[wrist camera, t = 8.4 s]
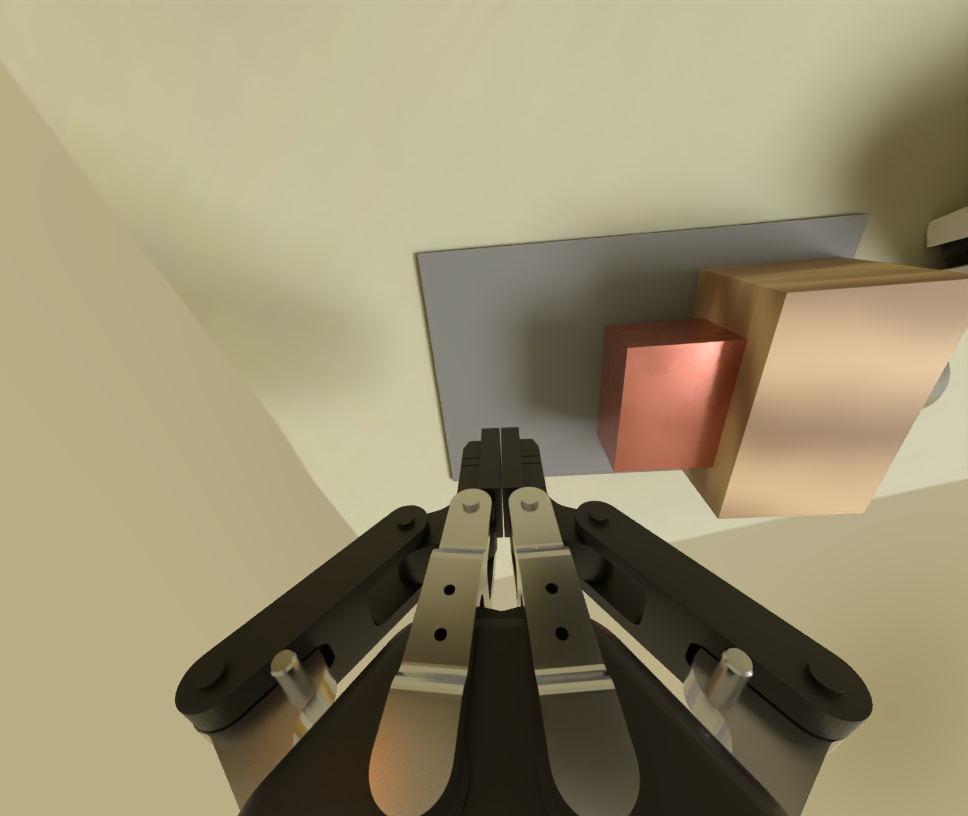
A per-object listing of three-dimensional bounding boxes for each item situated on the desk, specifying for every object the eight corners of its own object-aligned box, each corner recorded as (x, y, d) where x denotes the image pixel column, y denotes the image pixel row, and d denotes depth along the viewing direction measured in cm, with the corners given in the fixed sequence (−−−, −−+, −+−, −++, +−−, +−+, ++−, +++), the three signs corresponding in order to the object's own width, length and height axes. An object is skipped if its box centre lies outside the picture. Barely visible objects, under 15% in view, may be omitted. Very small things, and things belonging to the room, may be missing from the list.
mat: (417, 253, 19) (417, 253, 19) (865, 213, 17) (869, 213, 17) (453, 479, 26) (452, 481, 26) (773, 463, 25) (776, 465, 24)
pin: (592, 426, 23) (614, 472, 19) (600, 320, 20) (627, 347, 16) (843, 412, 22) (922, 457, 18) (894, 298, 19) (1004, 321, 15)
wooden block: (699, 269, 19) (787, 292, 13) (843, 257, 18) (995, 276, 13) (666, 447, 24) (718, 518, 18) (776, 442, 24) (863, 512, 18)
